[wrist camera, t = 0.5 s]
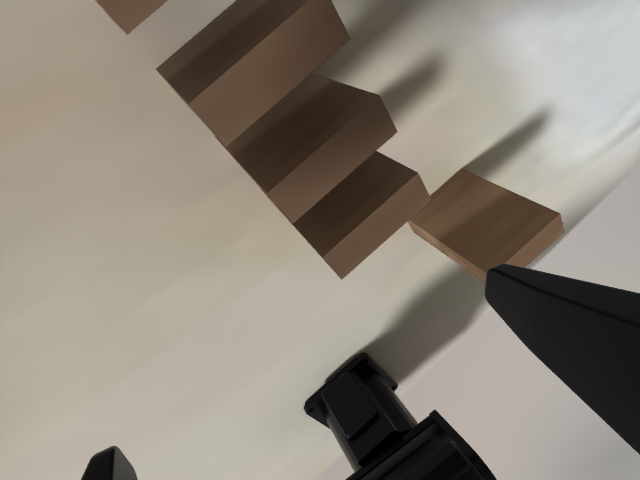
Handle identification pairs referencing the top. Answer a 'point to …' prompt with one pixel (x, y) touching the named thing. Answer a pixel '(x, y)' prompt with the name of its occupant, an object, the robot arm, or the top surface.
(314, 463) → the top surface
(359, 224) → the domino
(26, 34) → the top surface
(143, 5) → the domino
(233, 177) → the top surface
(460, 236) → the domino
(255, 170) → the domino
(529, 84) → the top surface
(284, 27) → the domino
